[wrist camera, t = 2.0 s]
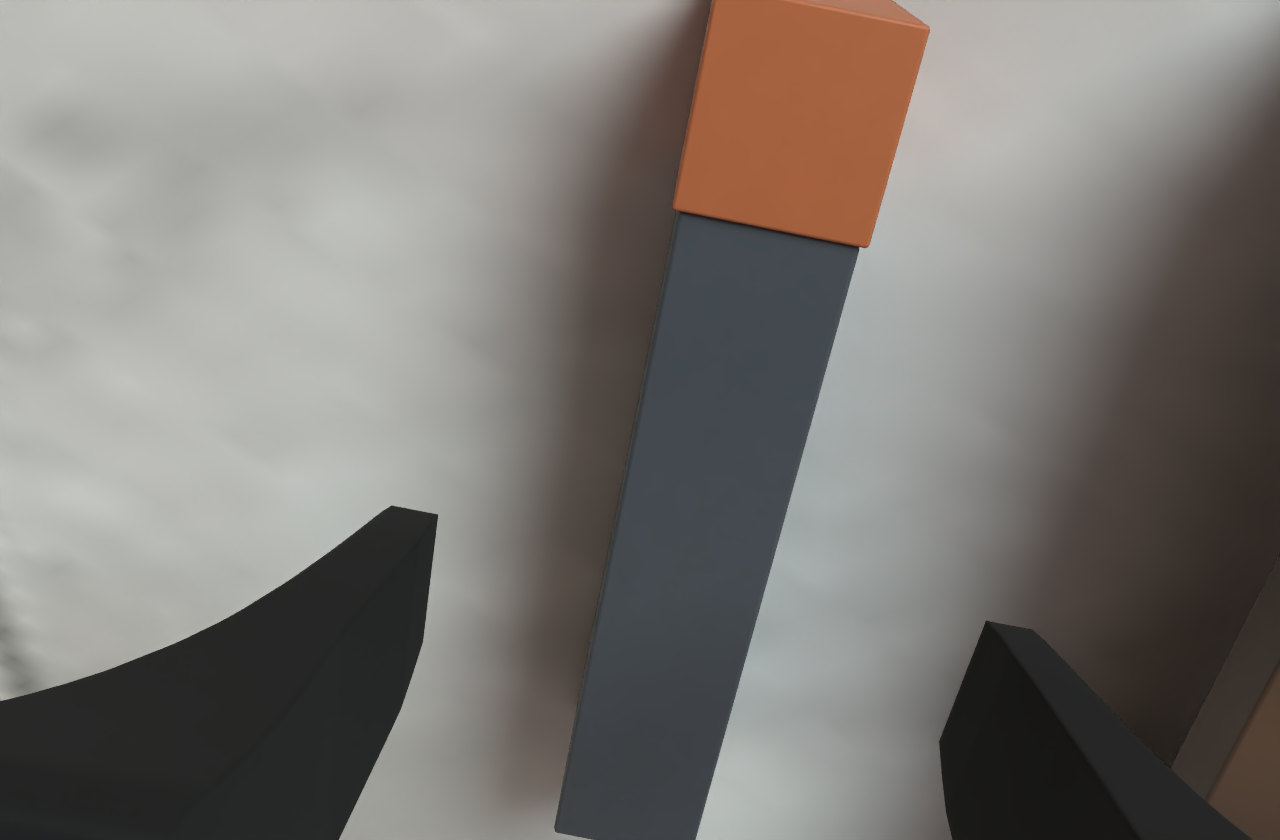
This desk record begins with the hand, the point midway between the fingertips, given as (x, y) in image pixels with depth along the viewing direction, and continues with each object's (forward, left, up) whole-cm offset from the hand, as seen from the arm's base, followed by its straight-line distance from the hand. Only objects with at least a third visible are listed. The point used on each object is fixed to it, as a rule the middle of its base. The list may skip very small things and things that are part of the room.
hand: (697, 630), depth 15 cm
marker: (0, 0, -7) cm, 7 cm away
